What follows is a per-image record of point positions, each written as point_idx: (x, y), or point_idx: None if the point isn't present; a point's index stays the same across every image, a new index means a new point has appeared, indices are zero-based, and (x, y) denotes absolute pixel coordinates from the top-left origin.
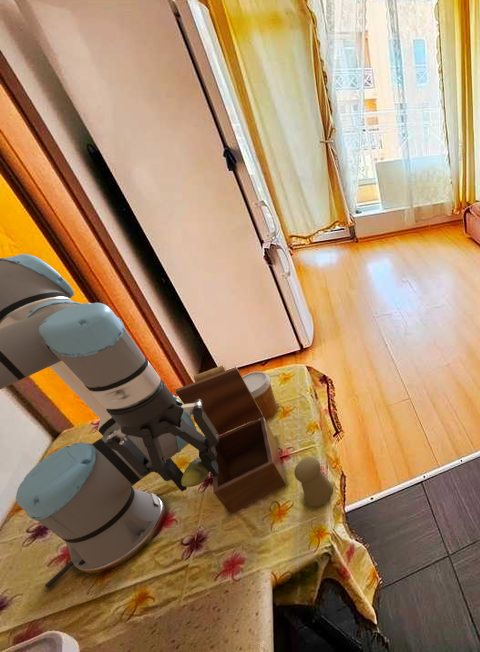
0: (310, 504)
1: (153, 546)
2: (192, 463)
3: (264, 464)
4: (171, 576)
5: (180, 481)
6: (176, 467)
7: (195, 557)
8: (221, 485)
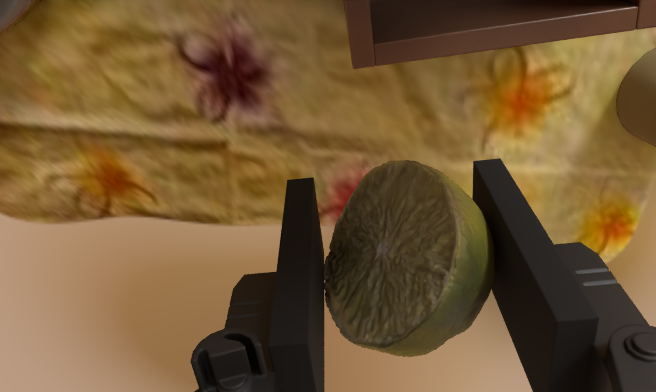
0: (629, 129)
1: (74, 16)
2: (441, 328)
3: (615, 13)
4: (182, 156)
5: (323, 299)
6: (312, 284)
7: (244, 129)
8: (392, 46)
